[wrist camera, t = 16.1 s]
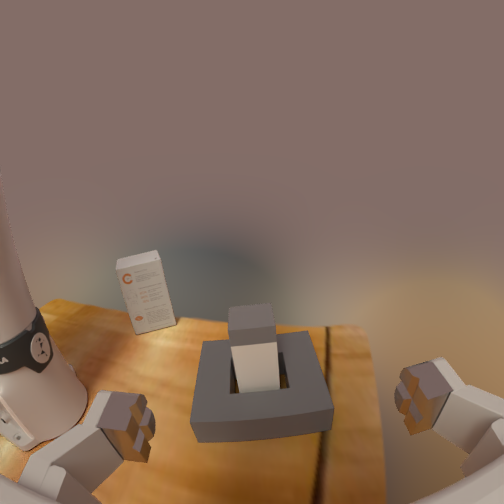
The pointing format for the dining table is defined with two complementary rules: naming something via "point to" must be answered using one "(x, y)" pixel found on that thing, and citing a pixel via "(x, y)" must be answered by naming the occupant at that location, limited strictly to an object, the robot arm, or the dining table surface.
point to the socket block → (260, 395)
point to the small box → (145, 292)
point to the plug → (254, 347)
